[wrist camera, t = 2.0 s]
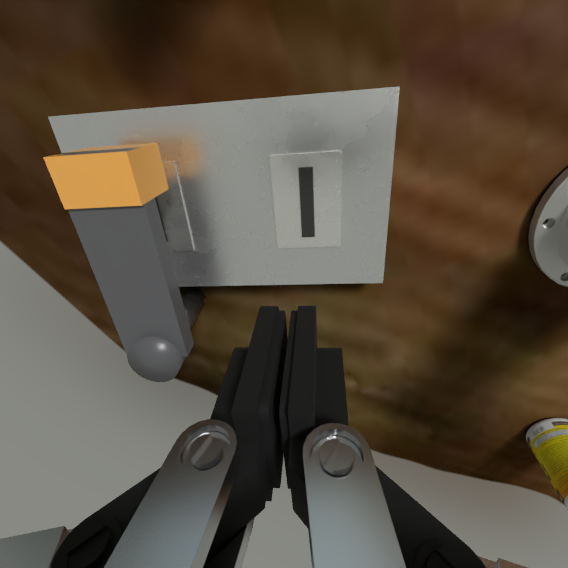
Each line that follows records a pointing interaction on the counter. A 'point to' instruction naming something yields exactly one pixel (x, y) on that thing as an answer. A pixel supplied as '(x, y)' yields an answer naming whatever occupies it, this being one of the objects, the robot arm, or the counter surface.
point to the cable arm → (128, 249)
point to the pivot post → (192, 303)
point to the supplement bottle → (552, 451)
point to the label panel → (265, 183)
